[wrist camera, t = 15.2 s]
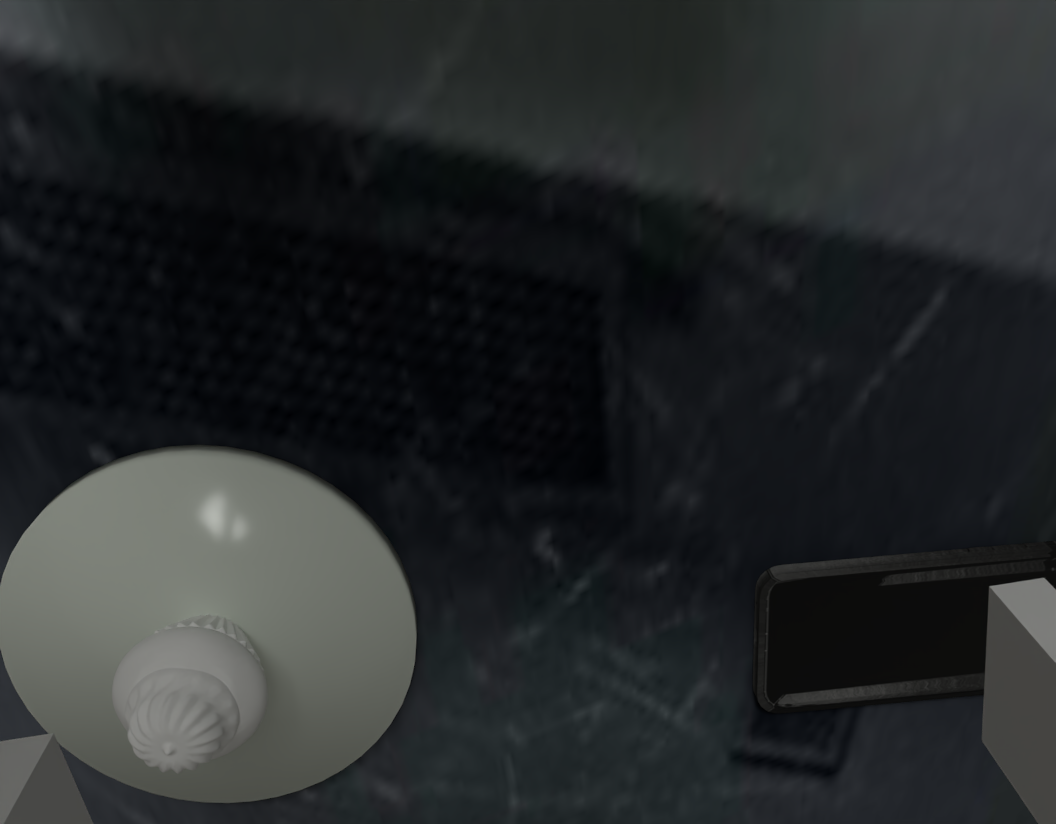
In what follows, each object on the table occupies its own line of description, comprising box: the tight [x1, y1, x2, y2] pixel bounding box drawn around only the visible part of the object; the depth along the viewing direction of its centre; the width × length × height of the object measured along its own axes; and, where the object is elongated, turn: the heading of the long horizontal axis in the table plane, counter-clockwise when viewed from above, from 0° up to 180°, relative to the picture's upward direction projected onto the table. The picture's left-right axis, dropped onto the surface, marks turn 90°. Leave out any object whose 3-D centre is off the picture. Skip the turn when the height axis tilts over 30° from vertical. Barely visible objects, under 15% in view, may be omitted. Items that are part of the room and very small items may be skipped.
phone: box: [753, 541, 1056, 713], centre depth 47 cm, size 8×1×15 cm
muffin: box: [112, 614, 268, 774], centre depth 40 cm, size 6×6×7 cm
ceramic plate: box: [0, 445, 417, 803], centre depth 44 cm, size 18×18×1 cm
